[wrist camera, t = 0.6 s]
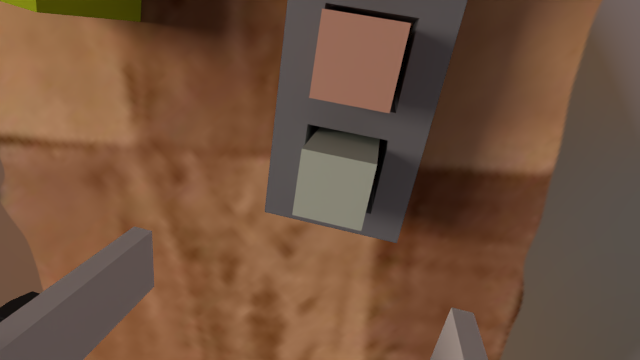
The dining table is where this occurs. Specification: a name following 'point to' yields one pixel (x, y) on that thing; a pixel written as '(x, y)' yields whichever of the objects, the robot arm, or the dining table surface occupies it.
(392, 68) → the key terracotta
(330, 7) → the console
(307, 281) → the dining table surface
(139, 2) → the puzzle toy
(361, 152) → the key sage
